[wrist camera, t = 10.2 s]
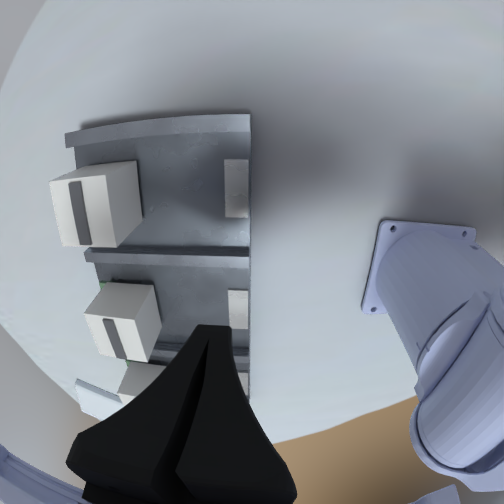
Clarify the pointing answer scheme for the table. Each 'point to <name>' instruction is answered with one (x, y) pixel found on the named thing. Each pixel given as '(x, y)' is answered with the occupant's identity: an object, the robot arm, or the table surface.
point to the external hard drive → (97, 400)
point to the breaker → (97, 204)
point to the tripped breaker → (137, 380)
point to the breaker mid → (125, 321)
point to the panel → (183, 223)
